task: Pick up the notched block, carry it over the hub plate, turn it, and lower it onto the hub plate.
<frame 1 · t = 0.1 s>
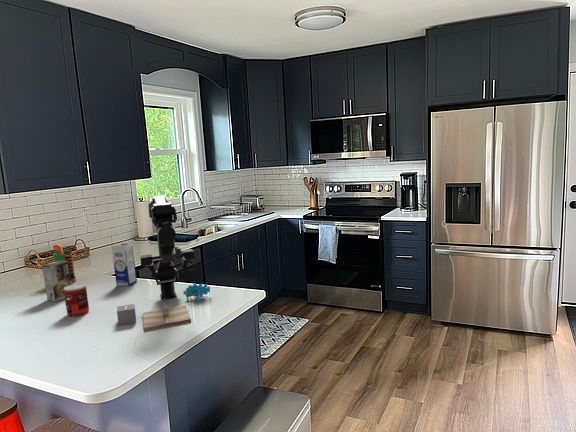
hand: (170, 280, 155), 15 cm above the counter, fingers open, 9 cm apart
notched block: (127, 321, 158), on the counter
hub plate: (166, 318, 158), on the counter
coffee box: (60, 298, 192), on the counter
milk carton: (126, 284, 207), on the counter
multicoloured piece: (66, 283, 217), on the counter
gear: (197, 299, 178), on the counter
canned food: (78, 313, 170), on the counter
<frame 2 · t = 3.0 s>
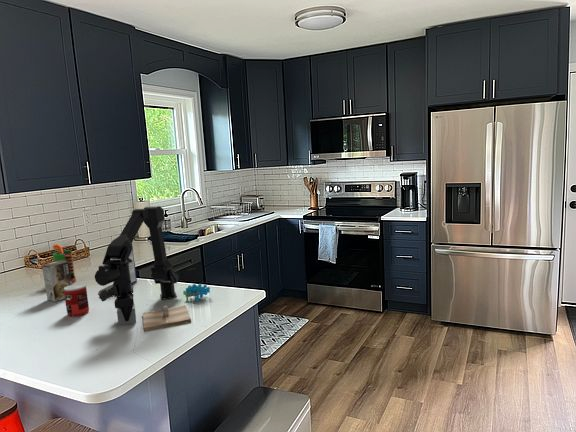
hand: (127, 318, 158), 1 cm above the counter, fingers closed on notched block, 6 cm apart
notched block: (127, 321, 158), on the counter, touching gripper
everything else where it was.
when the fingers open (3 cm above the counter, at t = 8.9 s): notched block stays where it is, resting on hub plate.
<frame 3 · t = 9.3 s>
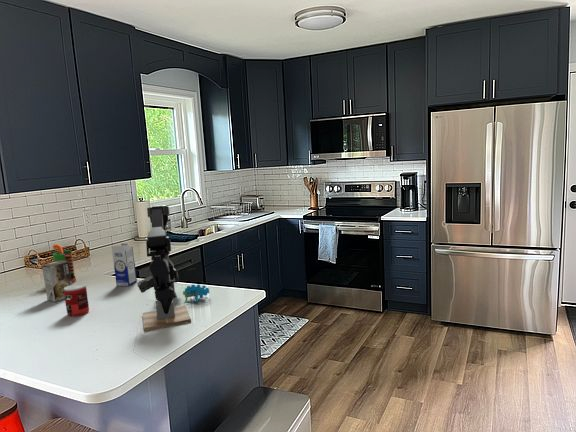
hand: (165, 309, 157), 3 cm above the counter, fingers open, 9 cm apart
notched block: (165, 315, 158), point 1 cm above the counter, touching hub plate
everything else where it was.
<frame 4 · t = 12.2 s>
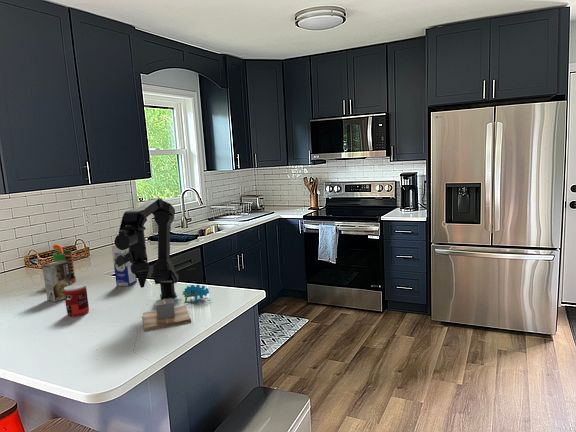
hand: (142, 284, 162), 12 cm above the counter, fingers open, 9 cm apart
at the end: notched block 0.0 cm off-centre on the hub plate, point 1.3 cm above the hub plate's base; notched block tilted 1°; the gripper is holding nothing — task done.
